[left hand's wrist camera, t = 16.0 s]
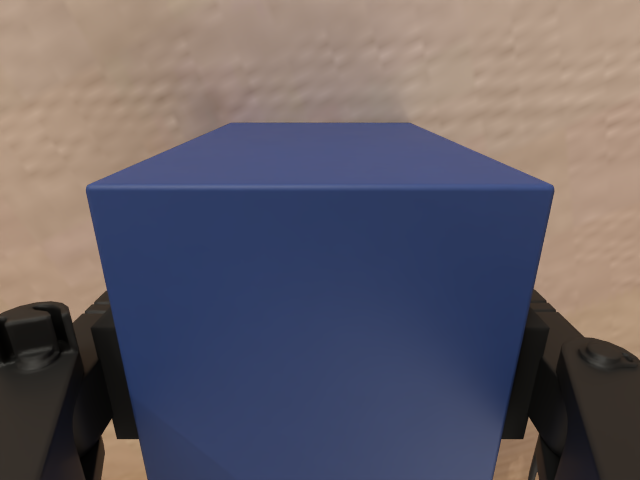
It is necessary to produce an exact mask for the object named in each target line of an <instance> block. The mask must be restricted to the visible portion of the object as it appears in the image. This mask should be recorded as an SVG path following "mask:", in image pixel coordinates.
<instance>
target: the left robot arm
mask: <svg viewBox="0 0 640 480" xmlns="http://www.w3.org/2000/svg"><path fill="white" fill-rule="evenodd" d="M528 417H529V418H530V419H531V421H532V423H533V424H534V426H535V427H536V429H537V431H538V432H539V436H538V440H537V444H536V448H535V452H534V455H533V459H532V463H531V467H530V471H529V477H528V480H535V477H536V473H537V472H538V475H539V480H640V360H639V359H638V358H637V357H636V356H634V355H633V354H631V353H630V352H628V351H627V350H625V349H624V348H621V347H619V346H617V345H614V344H612V343H610V342H606V341H602V340H599V339H595V338H586V337H584V336H583V335H582V334H581V333H579V332H578V331H577V330H576V329H575V328H574V327H573V326H572V325H571V324H570V323H569V322H568V321H567V320H566V319H565V318H564V317H563V316H562V315H561V314H560V313H559V312H556V310H555V309H554V308H553V307H552V306H551V305H550V304H549V303H547V302H546V300H545V299H544V298H543V297H542V296H541V295H540V294H539V293H538V292H537V291H536V290H534V289H533V293H532V298H531V302H530V307H529V312H528V316H527V321H526V326H525V330H524V335H523V340H522V344H521V349H520V354H519V358H518V363H517V368H516V372H515V377H514V382H513V386H512V391H511V396H510V400H509V405H508V410H507V414H506V419H505V424H504V428H503V433H502V438H501V439H523V438H524V434H525V430H526V425H527V421H528ZM111 419H112V420H113V424H114V428H115V432H116V437H117V439H139V437H138V432H137V427H136V423H135V418H134V413H133V409H132V404H131V399H130V395H129V390H128V385H127V381H126V376H125V371H124V367H123V362H122V357H121V353H120V348H119V343H118V339H117V334H116V329H115V324H114V320H113V315H112V310H111V306H110V301H109V296H108V292H107V291H105V292H104V293H103V294H102V295H101V296H100V297H99V298H98V299H97V300H96V301H95V302H94V304H92V305H91V306H90V307H89V308H88V309H87V310H86V311H85V314H82V315H81V316H80V317H79V318H77V319H76V320H75V321H74V322H73V323H72V319H71V316H70V312H69V308H68V306H66V305H64V304H63V303H59V302H52V301H50V302H36V303H32V304H27V305H23V306H19V307H16V308H13V309H11V310H8V311H5V312H3V313H1V314H0V480H101V476H102V469H103V462H104V455H105V450H104V444H103V440H102V436H101V435H102V433H103V432H104V430H105V428H106V427H107V425H108V424H109V422H110V420H111Z"/></svg>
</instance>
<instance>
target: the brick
mask: <svg viewBox="0 0 640 480" xmlns="http://www.w3.org/2000/svg"><path fill="white" fill-rule="evenodd" d="M86 194H87V198H88V203H89V208H90V212H91V217H92V222H93V226H94V231H95V236H96V240H97V245H98V250H99V254H100V259H101V264H102V268H103V273H104V278H105V282H106V287H107V292H108V296H109V301H110V306H111V310H112V315H113V320H114V324H115V329H116V334H117V339H118V343H119V348H120V353H121V357H122V362H123V367H124V371H125V376H126V381H127V385H128V390H129V395H130V399H131V404H132V409H133V413H134V418H135V423H136V427H137V432H138V437H139V441H140V446H141V451H142V455H143V460H144V465H145V469H146V474H147V479H148V480H493V475H494V470H495V466H496V461H497V456H498V452H499V447H500V442H501V438H502V433H503V428H504V424H505V419H506V414H507V410H508V405H509V400H510V396H511V391H512V386H513V382H514V377H515V372H516V368H517V363H518V358H519V354H520V349H521V344H522V340H523V335H524V330H525V326H526V321H527V316H528V312H529V307H530V302H531V298H532V293H533V288H534V284H535V279H536V274H537V270H538V265H539V260H540V256H541V251H542V246H543V242H544V237H545V232H546V228H547V223H548V218H549V214H550V209H551V204H552V200H553V195H554V187H553V185H551V184H549V183H546V182H544V181H542V180H539V179H537V178H535V177H533V176H530V175H528V174H526V173H523V172H521V171H519V170H517V169H514V168H512V167H510V166H507V165H505V164H503V163H501V162H498V161H496V160H494V159H491V158H489V157H487V156H485V155H482V154H480V153H478V152H475V151H473V150H471V149H469V148H466V147H464V146H462V145H459V144H457V143H455V142H452V141H450V140H448V139H446V138H443V137H441V136H439V135H436V134H434V133H432V132H430V131H427V130H425V129H423V128H420V127H418V126H416V125H414V124H411V123H229V124H227V125H225V126H223V127H220V128H218V129H216V130H213V131H211V132H209V133H206V134H204V135H202V136H199V137H197V138H195V139H193V140H190V141H188V142H186V143H183V144H181V145H179V146H176V147H174V148H172V149H170V150H167V151H165V152H163V153H160V154H158V155H156V156H153V157H151V158H149V159H146V160H144V161H142V162H140V163H137V164H135V165H133V166H130V167H128V168H126V169H123V170H121V171H119V172H117V173H114V174H112V175H110V176H107V177H105V178H103V179H100V180H98V181H96V182H93V183H91V184H89V185H87V187H86Z"/></svg>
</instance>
